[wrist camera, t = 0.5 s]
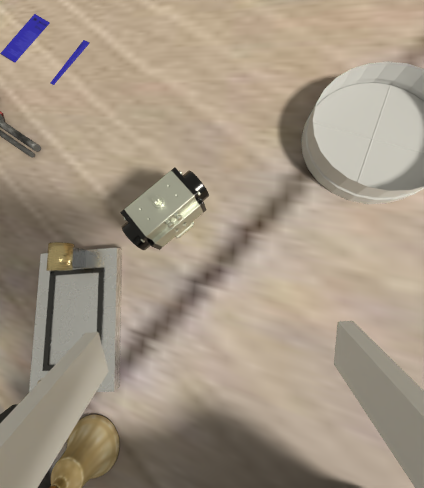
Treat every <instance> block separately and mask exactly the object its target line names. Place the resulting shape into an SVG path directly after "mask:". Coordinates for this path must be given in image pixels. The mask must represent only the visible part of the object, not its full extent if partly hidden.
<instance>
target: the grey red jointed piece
mask: <svg viewBox="0 0 424 488" xmlns="http://www.w3.org/2000/svg"><path fill="white" fill-rule="evenodd" d="M0 127H1V128H3V129H4V130H5V131H7V132H8V133H10V134H11V135H13V136H14V137H16V138H17V139H19V140H20V141H21V142H23V143H24V144H26V145H27V146H29V147H30V148H32V149H33V150H35V151H40V150H41V147H40V146H39V145H38V144H36V143H35V142H33V141H32V140H30V139H29V138H27V137H26V136H24V135H23V134H21V133H20V132H18V131H17V130H15V129H14V128H12V127H11V126H10V125H8V124H7V123H5V122H4V118H3V113H2V112H0ZM0 136H1V137H2V138H4V139H5V140H7V141H8V142H10V143H11V144H13V145H14V146H15V147H17V148H18V149H20V150H21V151H23V152H24V153H26V154H27V155H29V156H30V157H34V156H35V154H34V153H33V152H32V151H30V150H29V149H27V148H26V147H24V146H23V145H21V144H20V143H18V142H17V141H15V140H14V139H13V138H11V137H10V136H8V135H7V134H5V133H4V132H2V131H1V130H0Z"/></svg>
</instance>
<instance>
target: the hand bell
mask: <svg viewBox="0 0 424 488" xmlns="http://www.w3.org/2000/svg"><path fill="white" fill-rule="evenodd" d="M118 453H119V436H118V433H117V431H116V429H115V427H114V425H113V424H112V423H111V422H110V421H109V420H108V419H107V418H105V417H103V416H100V415H88V416H86V417H84V418H82V419H80V420H79V421H78V422H77V424H76V426H75V427H74V429H73V431H72V432H71V434H70V435H69V438H68V442H67V449H66V451H65V452H64V454H63V455H62V457H61V458H60V459H59V460H58V462H57V463H56V464H55V466H54V468H53V470H52V473H51V487H49V488H82V487H83V486H84V485H85V483H86V482H87V481H88V480H89V479H92V478H97V477H100V476H102V475H104V474H105V473H107V472H108V471H109V470H110V469H111V468H112V466H113V465H114V463H115V461H116V459H117V456H118Z"/></svg>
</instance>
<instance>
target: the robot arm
mask: <svg viewBox="0 0 424 488" xmlns="http://www.w3.org/2000/svg"><path fill="white" fill-rule="evenodd" d="M334 365H335V367H336V368H337V370H338V371H339V373H340V374H341V376H342V377H343V379H344V380H345V382H346V383H347V385H348V386H349V388H350V389H351V391H352V392H353V394H354V395H355V397H356V398H357V400H358V401H359V403H360V405H361V406H362V408H363V409H364V411H365V412H366V414H367V415H368V417H369V418H370V420H371V421H372V423H373V424H374V426H375V427H376V429H377V430H378V432H379V433H380V435H381V436H382V438H383V439H384V441H385V442H386V444H387V446H388V447H389V449H390V450H391V452H392V453H393V455H394V456H395V458H396V459H397V461H398V462H399V464H400V465H401V467H402V468H403V470H404V471H405V473H406V474H407V476H408V477H409V479H410V480H411V482H412V484H413V485H414V487H415V488H424V391H423V390H422V389H421V388H420V387H419V386H418V385H417V384H416V383H415V382H414V381H413V380H412V379H411V378H410V377H409V376H408V375H407V374H406V373H405V372H404V371H403V370H402V369H401V368H400V367H399V366H398V365H397V364H396V363H395V362H394V361H393V360H392V359H391V358H390V357H389V356H388V355H387V354H386V353H385V352H384V351H383V350H382V349H381V348H380V347H379V346H378V345H377V344H376V343H375V342H374V341H373V340H371V339H370V338H369V337H368V336H367V335H366V334H365V333H364V332H363V331H362V330H361V329H360V328H359V327H358V326H357V325H356V324H355V323H354V322H353V321H343V322H338V325H337V336H336V346H335V357H334ZM108 372H109V371H108V367H107V363H106V359H105V355H104V351H103V348H102V344H101V340H100V336H99V332H91V333H85V334H84V335H83V336H82V337H81V338H80V339H79V340H78V341H77V342H76V343H75V344H74V346H73V347H72V348H71V349H70V350H69V351H68V352H67V353H66V354H65V355H64V356H63V357H62V358H61V359H60V360H59V361H58V363H57V364H56V365H55V366H54V367H53V368H52V369H51V370H50V371H49V372H48V373H47V374H46V375H45V376H44V377H43V379H42V380H41V381H40V382H39V383H38V384H37V385H36V386H35V387H34V388H33V389H32V390H31V391H30V392H29V393H28V395H27V396H26V397H25V398H24V399H23V400H22V401H21V402H20V403H19V404H18V405H12V406H11V407H10V408H8V409H7V410H6V411H4V412H3V413H2V414H0V488H38V486H39V485H40V483H41V481H42V480H43V478H44V476H45V475H46V473H47V472H48V470H49V468H50V467H51V465H52V463H53V462H54V460H55V458H56V457H57V455H58V453H59V452H60V450H61V449H62V447H63V445H64V444H65V442H66V440H67V439H68V437H69V435H70V434H71V432H72V431H73V429H74V427H75V426H76V424H77V422H78V421H79V419H80V417H81V416H82V414H83V413H84V411H85V409H86V408H87V406H88V404H89V403H90V401H91V399H92V398H93V396H94V395H95V393H96V391H97V390H98V388H99V386H100V385H101V383H102V381H103V380H104V378H105V377H106V375H107V373H108Z"/></svg>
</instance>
